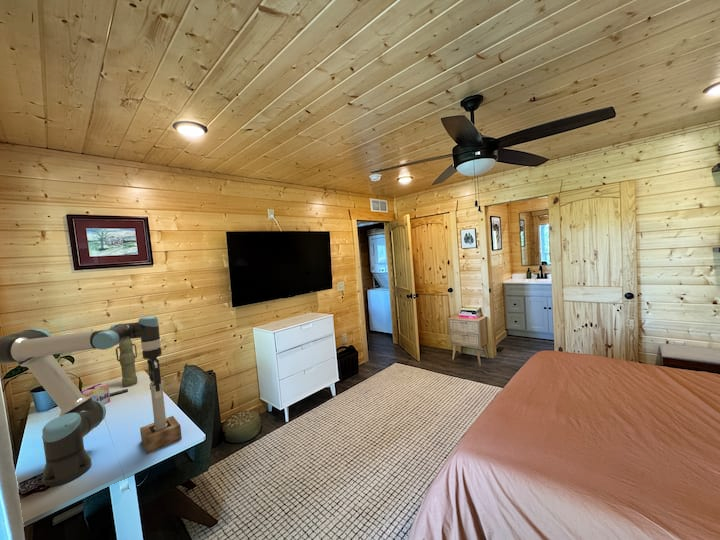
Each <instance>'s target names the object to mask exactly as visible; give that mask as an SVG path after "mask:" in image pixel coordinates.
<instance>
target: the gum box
mask: <svg viewBox="0 0 720 540" xmlns="http://www.w3.org/2000/svg"><path fill="white" fill-rule="evenodd" d="M80 392H81V393H82V394H83V396H85V397H91V399H92V400H93V401H100V402H101V403H103V404H104V406H105V405H107V404H108V403H111V397H110V395H109V394H110V389H109V384H108V383H106V384H105V383H104V384H102V383H98V384H95V385H93V386H91V387H89V388H86V389H84V390H81V391H80Z"/></svg>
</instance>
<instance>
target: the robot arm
mask: <svg viewBox="0 0 720 540" xmlns="http://www.w3.org/2000/svg"><path fill="white" fill-rule="evenodd" d="M128 339H131V340H132V339H133V340H134V339H140V343H141V350H142V351H141V352H142V358H143V359H144V360H147V367H148V376H149V378H148V379H149V381H150V383H152V382H154V384H153V385H152V386H153V387H154V396H155V399H156V398H159V397H162V394H161V385H160V383H161V381H162V378H161V370H160V360H159V359H158V357H160V356H161V355H162V354H163V353H162V352H163V351H162V347H161V346H162V345H161V342H162V339H161V337H160V324H159V320H158V317H157V316H155V315H148V316H143V317H139V318H138V321H136V322H126V323H118V324H113V325H111V326H110V327H109V328H107V329H101V330H94V331H93V330H92V331H84V332H77V333H76V332H75V333H68V334H59V335H51V333H49V332H48V331H47V330H44V329H40V328H33V329H26V330H22V331H19V332H15V333H11V334H7V335H3V336H0V365H8V364H12V363H17V364H18V365H19V366H20V367H25V368H28V369H29V371H30V372H31V374H32V375H33V376H34V377H35V378H36V380H37V382H38V383H39V385H41V387H42V388H43V389H44V390H45V391H46V393H47V394H48V395H49V396H50V397H51V399H52V400H53V402H54V403H55V404H56V406H58V408H59V410H60V413H59V415H58V417H54V418H53V419H51V420H50V421H48V422H47V423H46V424H45V425H44V426H43V428H42V430H41V431H42V433H41V434H42V435H41V438H42V442H43V443H42V444H43V450H44V459H45V465H44V469H43V473H42V476H41V483H43V484H44V485H46V486H50V487H55V486H60V485H62V484H66V483H68V482H70V481H72V480H74V479H76V478H78V477H80V476H82V475H83V474H85V473H86V472H87V471H88V470H89V469H90V468H91V467H92V457H90V455H89V453H88V452H87V450H86V449H85V445H84V443H85V442H84V437H85V436H87V435H88V434H89V433H90V432H91V431H93V430H94V429H95V428H97V427H98V426H99V425H100V424H101V423H102V422H103V420H104V419H105V417H106V414H107V409H106V406H105V405H104V404H103V403H101V402H100V401H93V400H92V399H91V397H85V396H83V394H82V393H81V391H80V389H79V388H78V387H77V385H76V384H75V383H74V382H73V380H72V379H71V377H70V376H69V374H68V373H67V372H66V370H64V368H63V367H62V366H61V364H60V363H59V362H58V361H57V359H56V358H55V356H54V355H59V354H67V353H74V352H81V351H87V350H89V351H90V350H94V349H95V350H103V351H104V350H107V349H112V348H113V347H115V346H116V345H119V343H121V342H123V341H125V340H128ZM149 371H150V372H151V373H150V372H149ZM46 486H45V487H46Z"/></svg>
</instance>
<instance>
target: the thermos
mask: <svg viewBox="0 0 720 540" xmlns="http://www.w3.org/2000/svg"><path fill="white" fill-rule="evenodd" d="M133 347H134V350H133ZM118 350H119V352H118ZM137 350H138V349H137V345H136V344H135V343H133V341H132V339H128V340H125V341H123V342H121V343H119V344H118V346H117V347H116V348H115V356H116V361H117V362H118V363H119V364H120V367H121V375H122V378H121V385H122V388H130V387H134V386H135V385H136V386H137V384H138V375H137V372H136V365H135V362H136V358H138V352H137Z"/></svg>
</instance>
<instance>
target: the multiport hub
mask: <svg viewBox="0 0 720 540" xmlns="http://www.w3.org/2000/svg"><path fill="white" fill-rule="evenodd" d="M128 392H129V389H128V388H125V389H122V390H118V391H115V392H111V393H110V392H109V395H110V398H111V397H115V396H119V395H123V394H125V393H128Z"/></svg>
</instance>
